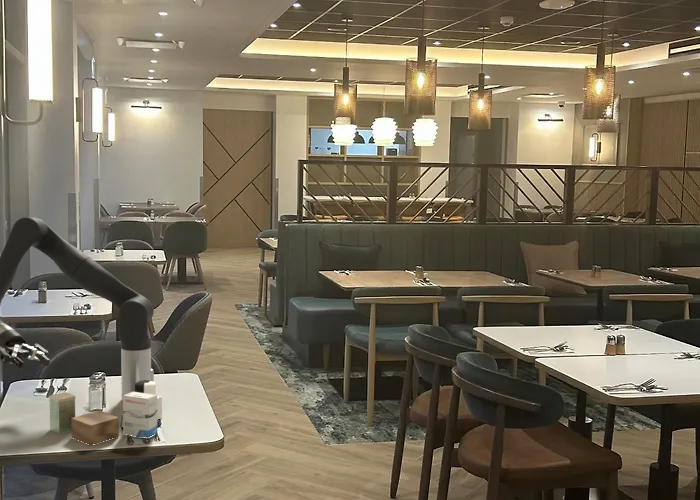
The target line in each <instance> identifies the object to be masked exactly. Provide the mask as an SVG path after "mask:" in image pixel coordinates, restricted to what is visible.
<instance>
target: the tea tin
mask: <svg viewBox="0 0 700 500" xmlns="http://www.w3.org/2000/svg"><path fill="white" fill-rule="evenodd" d="M48 399H49V429H50V431H51V432H53V433H55V432H56V434H57V433H58V435H62V434H61V433H63V434H66V433H70V432H72V418H74V417H76V395H74V394H71V393H69V392H66V391H64V392H59V393H56V394H51V395H48ZM65 432H66V433H65Z"/></svg>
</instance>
